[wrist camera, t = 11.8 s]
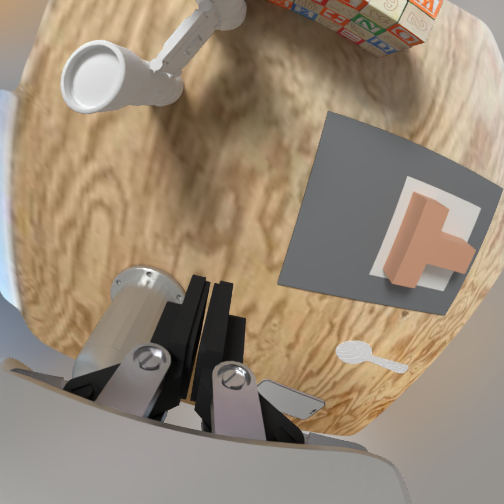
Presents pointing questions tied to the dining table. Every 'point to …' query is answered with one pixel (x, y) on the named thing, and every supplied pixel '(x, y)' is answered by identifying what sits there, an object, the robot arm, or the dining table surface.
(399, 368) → the spoon
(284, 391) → the smartphone
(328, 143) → the mat
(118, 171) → the dining table surface
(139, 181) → the dining table surface
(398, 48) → the stack of blocks
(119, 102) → the binoculars
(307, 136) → the dining table surface
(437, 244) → the t block
